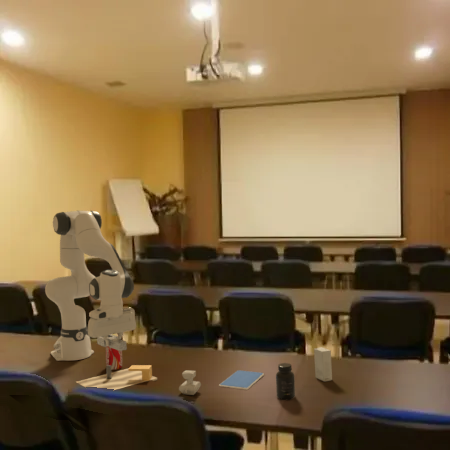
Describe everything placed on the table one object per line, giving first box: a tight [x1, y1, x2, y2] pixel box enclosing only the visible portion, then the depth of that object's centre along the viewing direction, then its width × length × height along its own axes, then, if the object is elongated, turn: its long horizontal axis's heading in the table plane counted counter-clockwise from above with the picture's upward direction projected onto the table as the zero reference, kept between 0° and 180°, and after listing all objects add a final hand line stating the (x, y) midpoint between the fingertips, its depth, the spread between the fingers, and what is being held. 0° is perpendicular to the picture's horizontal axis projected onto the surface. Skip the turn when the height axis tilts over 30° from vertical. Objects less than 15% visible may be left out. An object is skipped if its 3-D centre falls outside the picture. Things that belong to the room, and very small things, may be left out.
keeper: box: [127, 364, 153, 381], centre depth 224 cm, size 8×5×6 cm, turn 85°
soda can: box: [105, 346, 123, 371], centre depth 240 cm, size 7×7×12 cm
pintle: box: [105, 365, 112, 379], centre depth 225 cm, size 2×2×6 cm
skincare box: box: [313, 346, 333, 382], centre depth 218 cm, size 6×4×12 cm
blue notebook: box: [218, 369, 265, 391], centre depth 220 cm, size 19×13×1 cm, turn 155°
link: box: [96, 334, 128, 352], centre depth 220 cm, size 16×6×3 cm, turn 40°
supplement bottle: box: [275, 362, 296, 401], centre depth 200 cm, size 7×7×12 cm
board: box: [75, 367, 158, 391], centre depth 223 cm, size 20×26×1 cm
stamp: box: [178, 370, 202, 396], centre depth 207 cm, size 9×7×8 cm
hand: (113, 344), depth 220 cm, fingers closed on link, 3 cm apart
